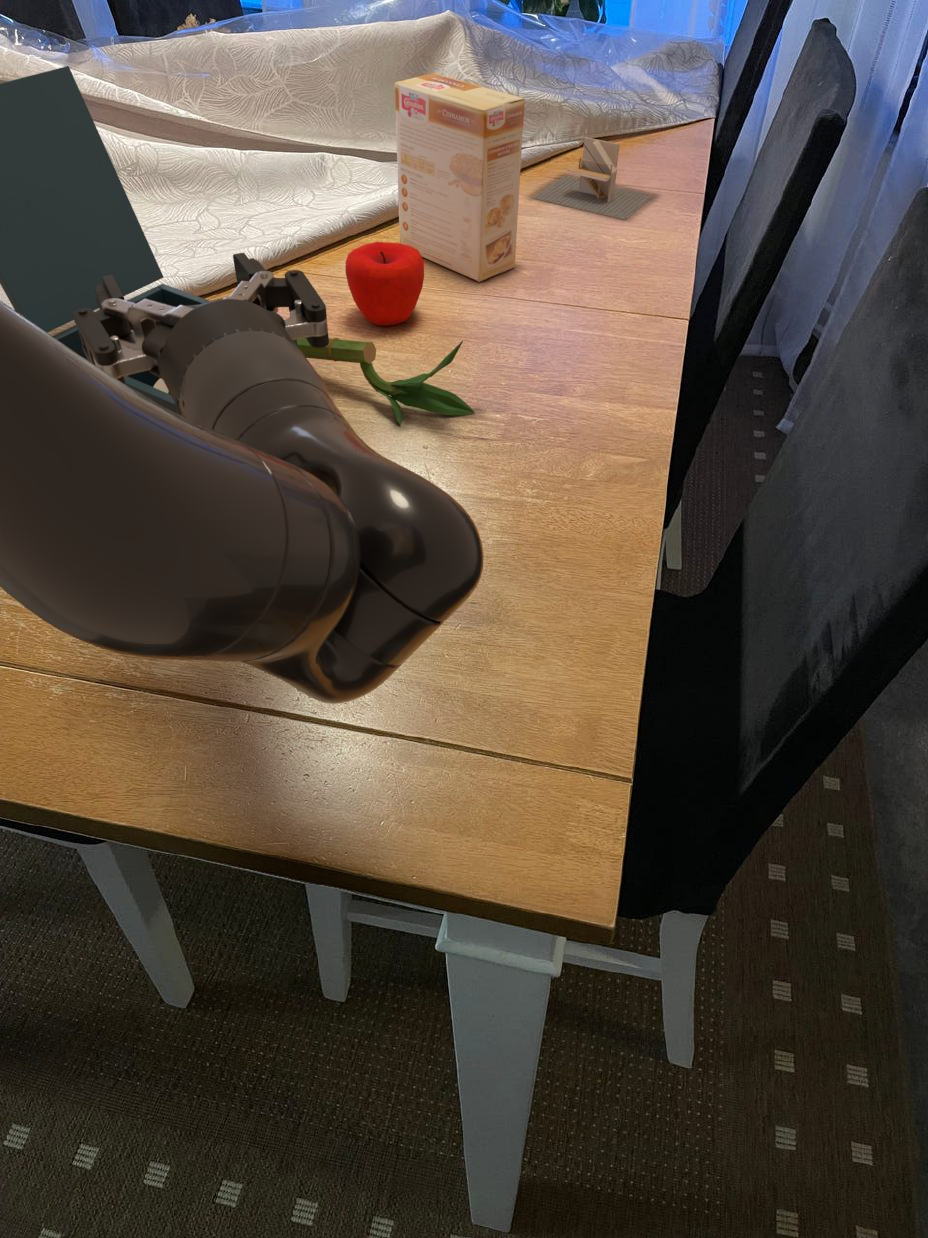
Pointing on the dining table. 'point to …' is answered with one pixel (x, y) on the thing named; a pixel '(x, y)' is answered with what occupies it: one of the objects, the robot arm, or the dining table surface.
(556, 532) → the dining table surface
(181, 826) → the dining table surface
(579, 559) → the dining table surface
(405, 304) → the apple
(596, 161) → the architectural model
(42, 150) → the lid
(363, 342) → the decorative plant
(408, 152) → the coffeecake box
